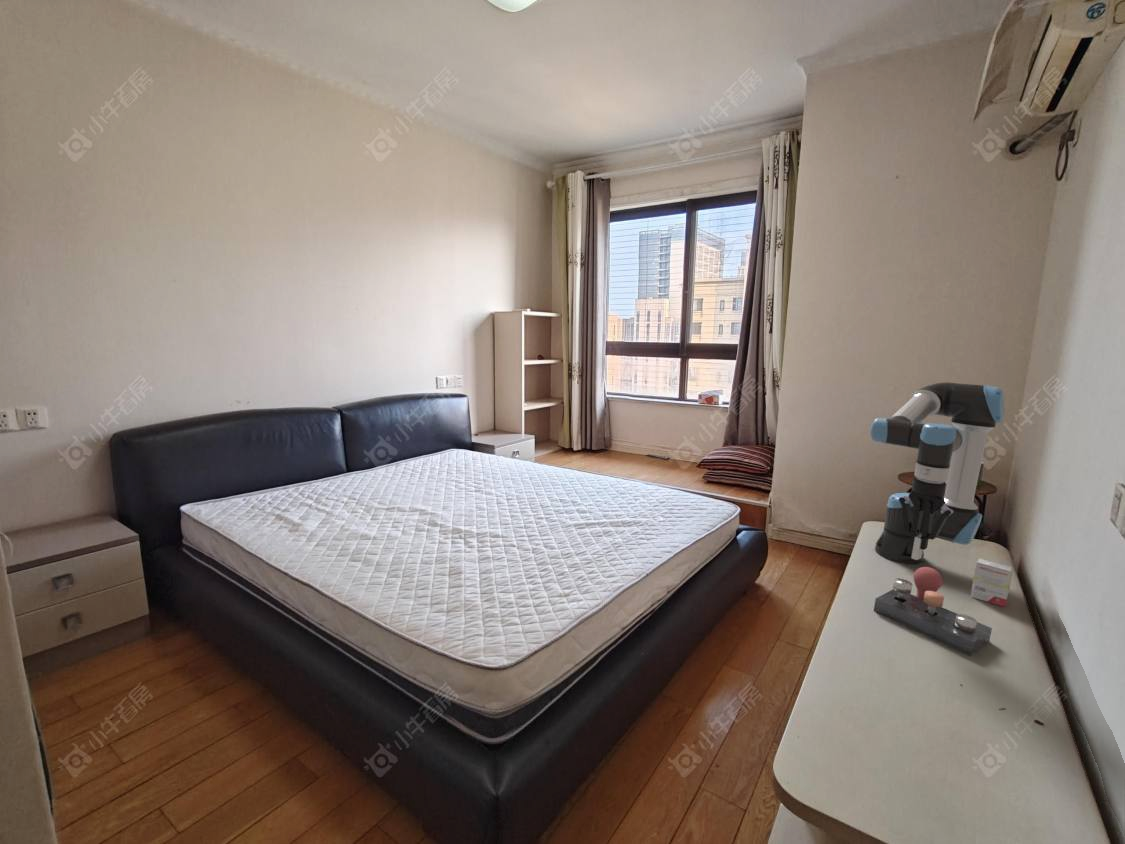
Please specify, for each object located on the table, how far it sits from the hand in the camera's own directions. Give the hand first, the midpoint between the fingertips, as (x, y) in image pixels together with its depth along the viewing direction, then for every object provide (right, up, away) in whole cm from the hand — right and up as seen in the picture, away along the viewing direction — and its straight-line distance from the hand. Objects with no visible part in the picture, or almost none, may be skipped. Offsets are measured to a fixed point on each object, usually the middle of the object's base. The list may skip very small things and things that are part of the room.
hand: (916, 557), depth 145 cm
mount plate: (+2, -19, -2) cm, 19 cm away
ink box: (+32, -17, +13) cm, 38 cm away
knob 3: (+7, -20, -8) cm, 22 cm away
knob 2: (+2, -15, -2) cm, 16 cm away
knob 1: (-2, -14, +4) cm, 15 cm away
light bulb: (+9, -17, +9) cm, 21 cm away
